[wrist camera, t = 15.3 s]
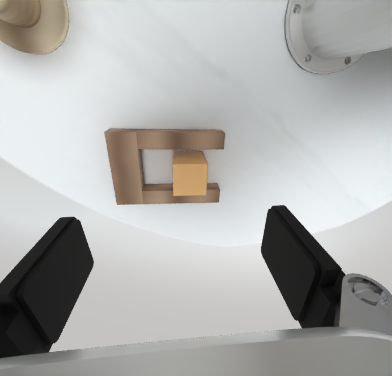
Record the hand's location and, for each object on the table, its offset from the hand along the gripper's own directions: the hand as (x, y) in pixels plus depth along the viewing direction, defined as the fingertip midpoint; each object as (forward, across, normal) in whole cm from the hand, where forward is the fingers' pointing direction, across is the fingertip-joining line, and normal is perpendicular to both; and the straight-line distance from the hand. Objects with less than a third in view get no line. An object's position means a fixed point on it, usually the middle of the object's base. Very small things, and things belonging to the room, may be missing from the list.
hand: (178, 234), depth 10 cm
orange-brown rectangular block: (+22, -1, +4) cm, 22 cm away
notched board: (+22, +2, +4) cm, 22 cm away
